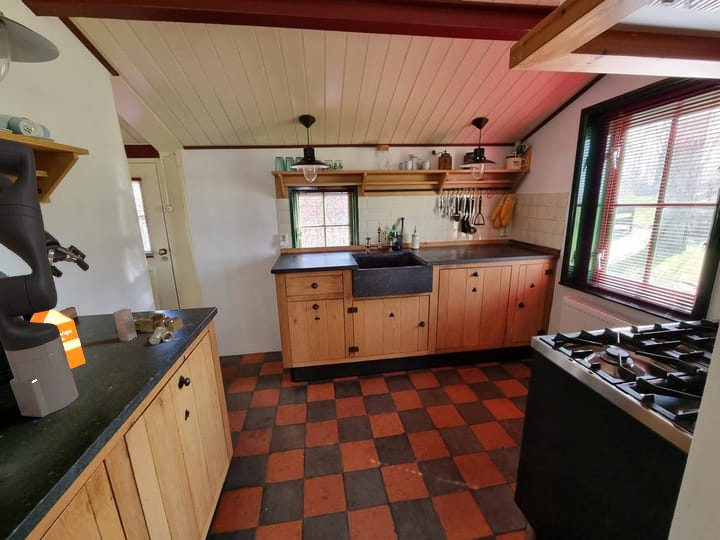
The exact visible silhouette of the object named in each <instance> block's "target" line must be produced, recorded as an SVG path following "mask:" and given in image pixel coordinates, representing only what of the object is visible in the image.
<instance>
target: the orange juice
mask: <svg viewBox="0 0 720 540" xmlns="http://www.w3.org/2000/svg"><path fill="white" fill-rule="evenodd" d="M30 322H39V323H52V324H55V325H57V326H58V328H59V331H60V335H61V338H62V342H63V345H64V348H65V352H66V355H67V358H68V362H69V365H70V368H71V369H73V368H76V367H79V366H81V365H84V364H86V358H85V356H84V353H83V349H82V344H81V341H80V338H79V335H78V331H77V328H76V324H75V320H74V319H73V318H72V319H71V318H70V317H68V316H67V315H64V314H63V313H61V312H59V311H58V310H56V309H55V308H54V309H52V310H49V311H45V312H40V313H35V314H32V316H31V318H30Z"/></svg>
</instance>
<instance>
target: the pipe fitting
mask: <svg viewBox="0 0 720 540" xmlns="http://www.w3.org/2000/svg"><path fill="white" fill-rule="evenodd" d="M174 338H175V337H174V332H171V331H168V330H166V329H165V328H164V327H157V328H156V329H155V330H154V332H153V334H152V336H150V337H149V339H148V341H149V343H150V344H151V345H159V344H160V342H161V341H163V342H166V343H167V342H168V341H169V342H170V341H172V340H174Z"/></svg>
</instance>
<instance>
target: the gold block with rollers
mask: <svg viewBox="0 0 720 540" xmlns="http://www.w3.org/2000/svg"><path fill="white" fill-rule="evenodd" d="M150 315H151V317H150V316H149V315H146V316H141V315H138V316H132V317H133V321H134V325H135V330H141V331H140V332H141V333H151V332H153V333H154V330H155V329H156V328H157V327H164V328H165V329H166V330H168V331H171V332H173V333H175V332H176V330H177V331H178V330H179V329H181V328H183V327H184V324H183V319H182V318H181V317H178V316H174V317H170V316H165V315H166V314H165V312H152V313H151V314H150Z"/></svg>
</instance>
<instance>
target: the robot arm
mask: <svg viewBox="0 0 720 540" xmlns="http://www.w3.org/2000/svg"><path fill="white" fill-rule="evenodd" d="M10 176H12V177H17V178H16V179H15V180H14V182H13V180H12V179H11V178H10ZM38 192H39V191H38V183H37V166H36V158H35V154H34V151H33V149H32V148H31V146H29V144H25V143H23V142H19V141H15V140H14V141H13V140H10V139H5V138H0V244H1V245H2V246H4V248H7V250H9V251H10V252H12V253H14V254H16V255H17V257H19V258H20V259H21V260H22V261H23V262H24V263H26V264H27V266H29V268H30V269H31V273H29V274H20V275H13V276H6V277H5V276H4V277H0V342H1V344H2V347H3V350H4V352H5V355H6V359H7V361H8V364H9V366H10V367H9V368H10V369H11V373H12V376H13V378H12V379H10V381H9V383H10V387H11V389H12V392H13V394H14V397H15V401H16V404H17V406H18V409H19V411H20V415H21V416H24V417H34V418H35V417H36V418H44V417H47V416H48V415H49V414H53V413H54V412H57V411H60V410H61V409H64V408H65V407H68V406H69V405H71V404H72V403H73V402H75V401H76V400H77V398H78V397H79V392H78V388H77V385H76V381H75V379H74V375H73V372H72V368H70V365H69V362H68V358H67V355H66V352H65V348H64V345H63V342H62V338H61V335H60V331H59V328H58V326H57V325H55V324H52V323H39V322H30V321H28V320H24V319H22V318H20V317H23V316H24V317H25V316H28V315H34V314H35V313H40V312H45V311H49V310H52V309H54V310H55V308H56V307H57V305H58V292H57V288H56V283H55V279H54V277H56V278H58V279H59V278H61V277H62V276H63V272H62V271H61V270H60V269H59V268H58V267H57V266H56V265H53V264H55V263H56V264H57V263H58V262H67V263H73V264H76V265H77V266H78V267H79V268H80V269H81V270H82V271H84V272H87V271H88V270H89V269H90V265H89V264H88V263H87V262H86V261H85V258H86V257H87V255H86V254H85V253H84V252H83V251H81V250H80V249H78V248H77V247H76V246H74V245H72V244H71V245H70V246H69V247H64V246H62V245H61V244H60V242H59V240H58V239H56V238H55V237H54V236H53V235H52V234H51V233H50V232H48V231H47V229H46V228H45V224H44V223H45V222H44V218H43V217H44V216H43V214H42V213H43V211H42V209H41V204H40V198H39V194H38ZM68 256H69V257H68Z"/></svg>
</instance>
